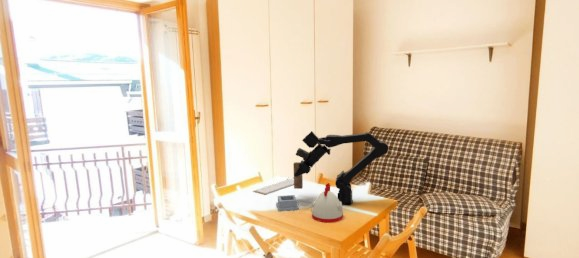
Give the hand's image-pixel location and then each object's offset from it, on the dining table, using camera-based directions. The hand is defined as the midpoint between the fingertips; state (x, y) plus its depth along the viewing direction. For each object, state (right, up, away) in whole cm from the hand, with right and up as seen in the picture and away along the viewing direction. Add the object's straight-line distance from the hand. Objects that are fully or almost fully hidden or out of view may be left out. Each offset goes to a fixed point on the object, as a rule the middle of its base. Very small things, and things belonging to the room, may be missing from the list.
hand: (295, 175), depth 167 cm
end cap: (-4, -15, -7) cm, 17 cm away
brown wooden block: (+2, -7, 0) cm, 7 cm away
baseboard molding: (-11, -12, +28) cm, 32 cm away
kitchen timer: (+14, -16, -21) cm, 30 cm away
